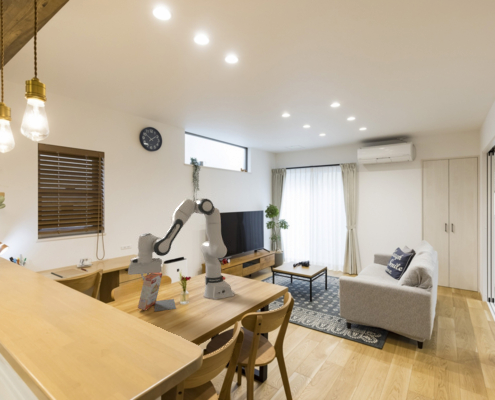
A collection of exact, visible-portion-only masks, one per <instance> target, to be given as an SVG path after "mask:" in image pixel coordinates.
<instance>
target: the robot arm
mask: <svg viewBox="0 0 495 400" xmlns="http://www.w3.org/2000/svg"><path fill="white" fill-rule="evenodd" d="M195 213H196V214H200V215H204V217H205V235H206V237H207V239H208V240H206V241H203V242H202V243H201V245H200V252H201V253H202V255H203V259H204V263H205V276H204V277H205V278H204V285H205V288H204V292H203V297H204V298H206V299H213V300H220V299H226V298H230V297H234V296H235V295H236V294H235V291H233V290H232V287H231V284H230V283H228V282H227V281H225V280H226V276H224V275H222V265H221V262H220V261H219V259H223V258H224V257H226V255H227V252H228V249H227V247H226V244H225V243H224V240H223V237H222V223H221V222H222V221H221V218H222V217H221V213H220V210H219V209H218V208H217V207H215V205H214V204H213V202H212V200H210V199H208V198H201V197H200V198H197V199H190V198H186V199H184V200H182V202H181V203H180V204H179V205H178V206H177V207H176V208H175V210H174V211H173V213H172V215H171V217H170V219H171V225H170V227H169V229H168V230H167V232H166V233H165V235H164V236H163V237H158V236H156V235H153V234H152V233H149V232H148V233H143V234H141V235H140V236H139V237H138V239H137V240H138V241H137V243H138V244H137V249H138V253H137V256H135V257H131V259H130V263H129V266H128V269H127V271H128V273H127V275H131V276H132V275H140V276H141V278H142V282H144V278H145V276H144V275H146V276H147V275H149V274H151V273H159V272H160V273H162V264H163V260H162V259H161V258H160V257H164V256H166V255H168V254H169V253H170V250H171V248H172V244H173V242H174V241H175V239H176V238H177V236H178V234H179V232H180V231H181V230H182V228H183V227H184V226H185V225H186V223H187V222H188V221H189V219H190V218H191V216H192V215H193V214H195ZM154 253H155V254H156V255H157V256H159V257H157V258H156V257H155V258H154V257H153V254H154Z"/></svg>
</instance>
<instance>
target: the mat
mask: <svg viewBox="0 0 495 400" xmlns="http://www.w3.org/2000/svg"><path fill="white" fill-rule="evenodd" d="M153 306H154V312H160V311H162V312H163V311H169V310H170V311H171V310H176V309H177V307H176V302H175V299H174V298H171V299H163V300H156V303H155V304H154V305H153Z"/></svg>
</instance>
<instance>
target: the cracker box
mask: <svg viewBox="0 0 495 400" xmlns="http://www.w3.org/2000/svg"><path fill="white" fill-rule="evenodd" d="M162 276H163V273H162V272H159V273H149V275H147V274H146V275H145V276H144V277H145V278H144V281H142V282H143V283H142V286H141V291H140V295H139V301H138V305H137V309H140V310H143V311H147V310H148V309H150V308H151V307H152V306H154V304H155V303H156V301H157V298H158V295H159V290H160V287H161V283H162Z"/></svg>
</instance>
